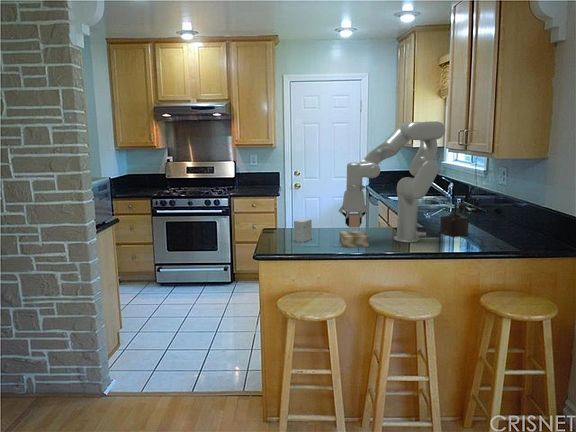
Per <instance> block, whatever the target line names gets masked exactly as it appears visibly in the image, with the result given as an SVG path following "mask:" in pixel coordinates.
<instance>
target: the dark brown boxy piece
mask: <svg viewBox="0 0 576 432" xmlns="http://www.w3.org/2000/svg"><path fill="white" fill-rule="evenodd" d="M453 204H454V206H453V207H454V211H453V212H451V213H449V214H447V215H442V216H440V221H439V222H440V223H439V225H440V226H439V234H441V235H445V236H449V237H453V238H456V237H465V236H468V235H469V223H470V218H469V217H466V216H462V215H461V214H464V213H465V210H466V209H467V204H465V203H462V202H461V203H459V204H457V203H453ZM457 205H458V206H457ZM457 211H458V213H457ZM459 213H460V214H459Z"/></svg>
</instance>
